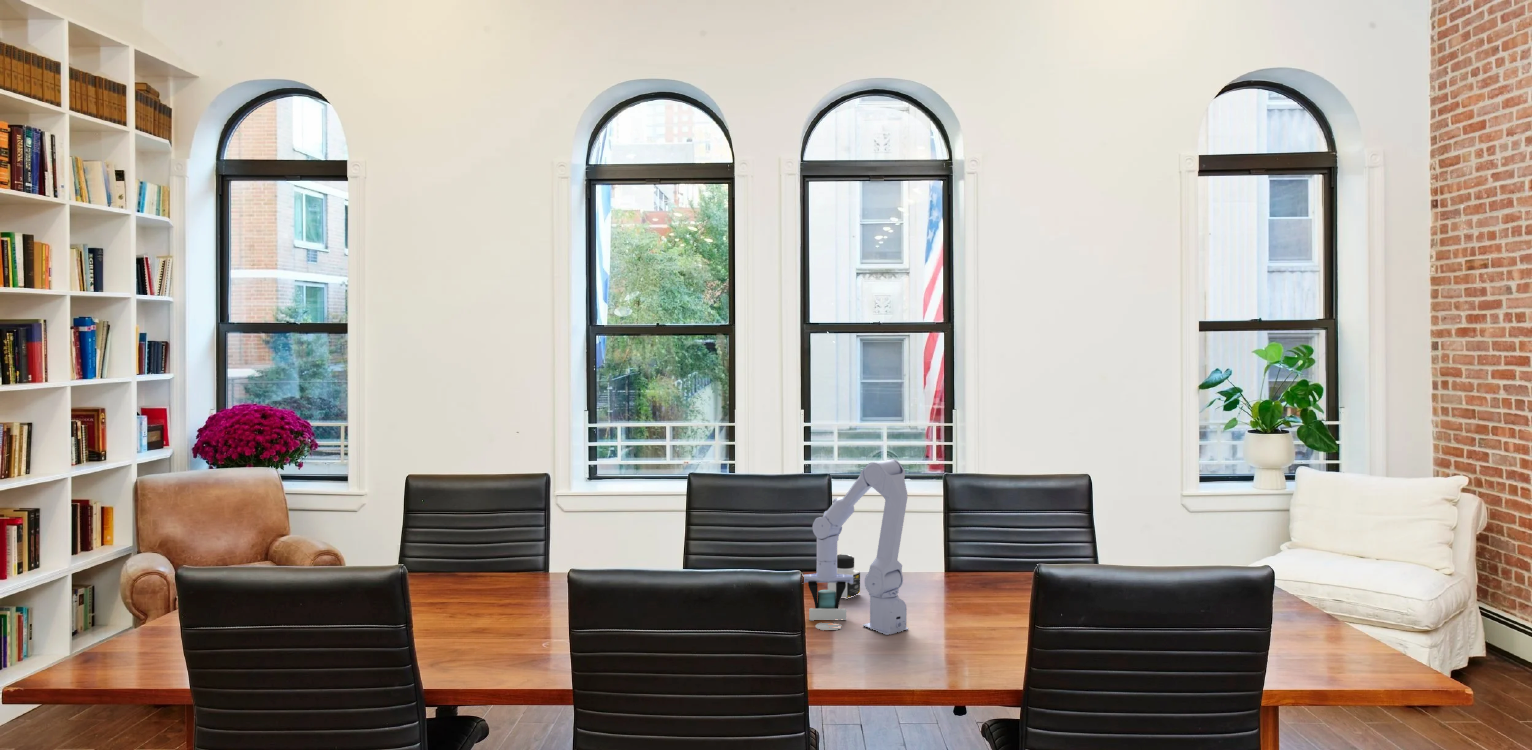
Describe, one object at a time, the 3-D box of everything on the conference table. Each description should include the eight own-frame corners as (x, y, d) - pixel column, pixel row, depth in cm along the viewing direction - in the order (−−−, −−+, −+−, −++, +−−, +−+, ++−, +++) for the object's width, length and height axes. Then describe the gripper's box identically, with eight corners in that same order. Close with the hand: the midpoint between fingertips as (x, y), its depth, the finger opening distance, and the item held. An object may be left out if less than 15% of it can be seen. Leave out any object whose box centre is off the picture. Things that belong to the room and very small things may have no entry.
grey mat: (847, 627, 239) (847, 626, 239) (827, 632, 235) (827, 631, 235) (830, 621, 245) (830, 620, 245) (810, 625, 241) (810, 625, 241)
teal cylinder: (839, 614, 251) (839, 592, 251) (825, 617, 248) (825, 595, 248) (827, 609, 255) (827, 588, 255) (813, 612, 253) (814, 591, 252)
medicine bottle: (847, 600, 266) (847, 559, 265) (827, 596, 270) (827, 555, 270) (860, 594, 271) (860, 554, 271) (840, 590, 276) (840, 551, 275)
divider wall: (846, 619, 246) (846, 608, 246) (846, 620, 245) (846, 609, 245) (809, 619, 247) (809, 608, 246) (809, 620, 246) (809, 609, 245)
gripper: (852, 556, 255) (851, 604, 256) (800, 556, 256) (800, 604, 256) (854, 562, 248) (853, 611, 249) (800, 562, 249) (800, 611, 249)
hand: (826, 608), depth 252 cm, fingers closed on teal cylinder, 5 cm apart
